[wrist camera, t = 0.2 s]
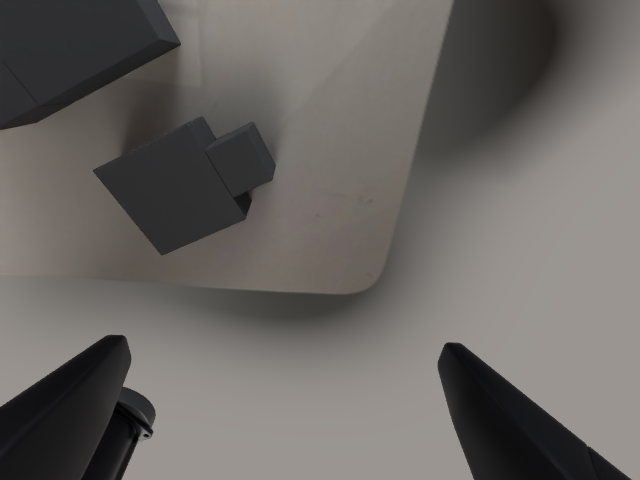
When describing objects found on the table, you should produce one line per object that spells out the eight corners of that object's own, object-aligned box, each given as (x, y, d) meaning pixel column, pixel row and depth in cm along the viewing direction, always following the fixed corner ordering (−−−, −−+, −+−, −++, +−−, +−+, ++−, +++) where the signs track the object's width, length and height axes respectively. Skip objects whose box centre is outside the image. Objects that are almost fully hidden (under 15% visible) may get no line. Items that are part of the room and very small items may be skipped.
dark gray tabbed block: (286, 186, 21) (284, 202, 19) (177, 234, 22) (161, 256, 20) (240, 96, 18) (231, 101, 16) (119, 156, 20) (91, 170, 17)
